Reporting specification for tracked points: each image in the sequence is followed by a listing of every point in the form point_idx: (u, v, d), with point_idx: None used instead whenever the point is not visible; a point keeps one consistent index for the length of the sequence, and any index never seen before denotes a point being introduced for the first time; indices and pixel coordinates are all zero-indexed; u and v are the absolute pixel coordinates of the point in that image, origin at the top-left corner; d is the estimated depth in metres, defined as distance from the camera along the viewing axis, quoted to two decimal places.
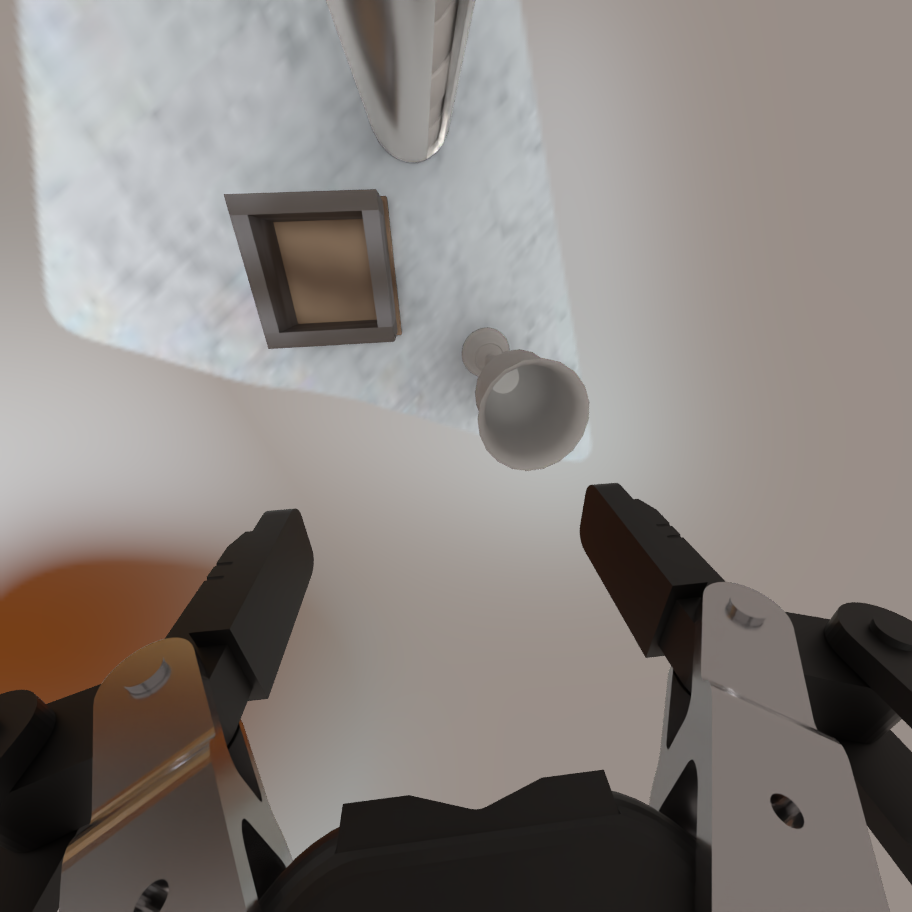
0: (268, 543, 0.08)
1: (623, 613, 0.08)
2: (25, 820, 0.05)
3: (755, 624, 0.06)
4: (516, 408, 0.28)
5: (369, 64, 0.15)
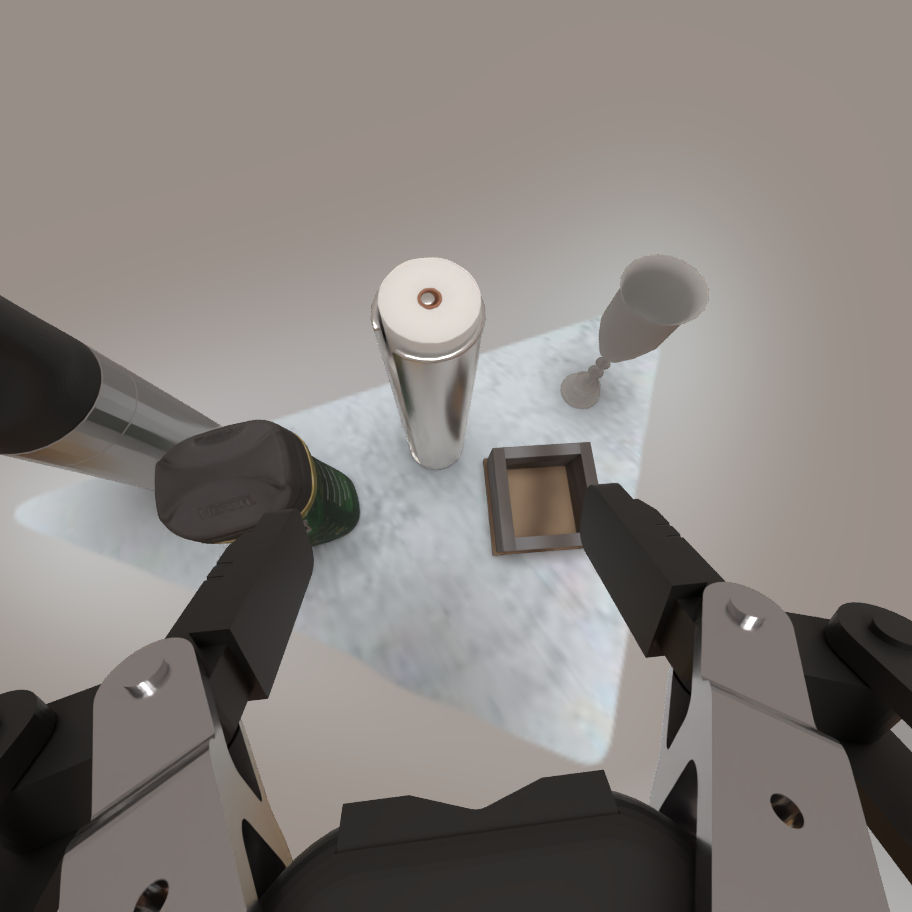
0: (268, 543, 0.08)
1: (623, 613, 0.08)
2: (25, 820, 0.05)
3: (755, 624, 0.06)
4: None
5: (469, 402, 0.28)
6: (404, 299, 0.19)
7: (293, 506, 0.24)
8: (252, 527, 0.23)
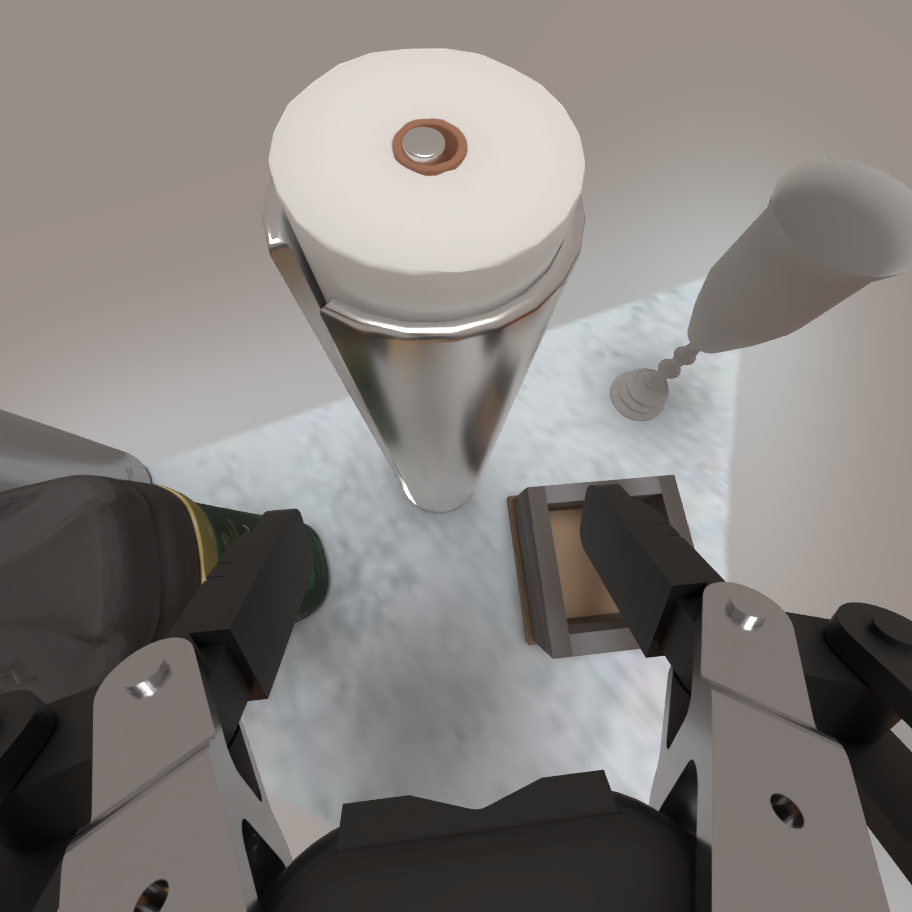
0: (268, 543, 0.08)
1: (623, 613, 0.08)
2: (25, 820, 0.05)
3: (755, 624, 0.06)
4: None
5: (502, 426, 0.15)
6: (352, 149, 0.06)
7: None
8: None
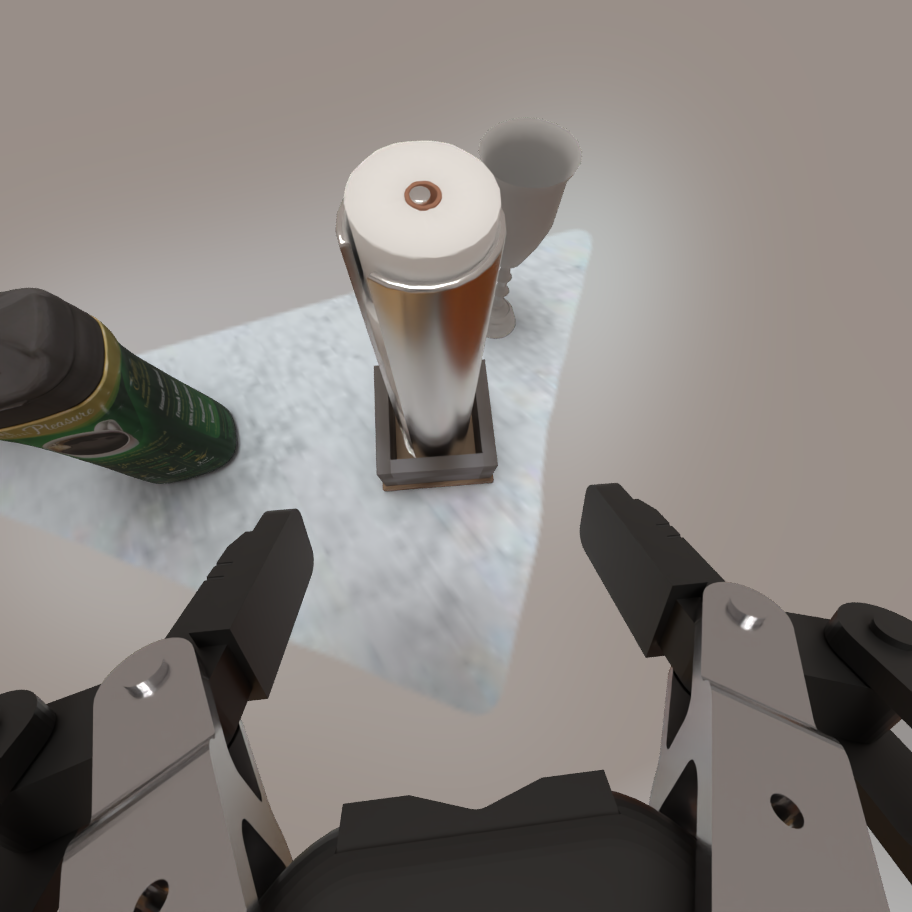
0: (268, 543, 0.08)
1: (623, 613, 0.08)
2: (25, 820, 0.05)
3: (755, 624, 0.06)
4: None
5: (477, 373, 0.21)
6: (384, 196, 0.12)
7: (61, 385, 0.20)
8: (1, 405, 0.19)
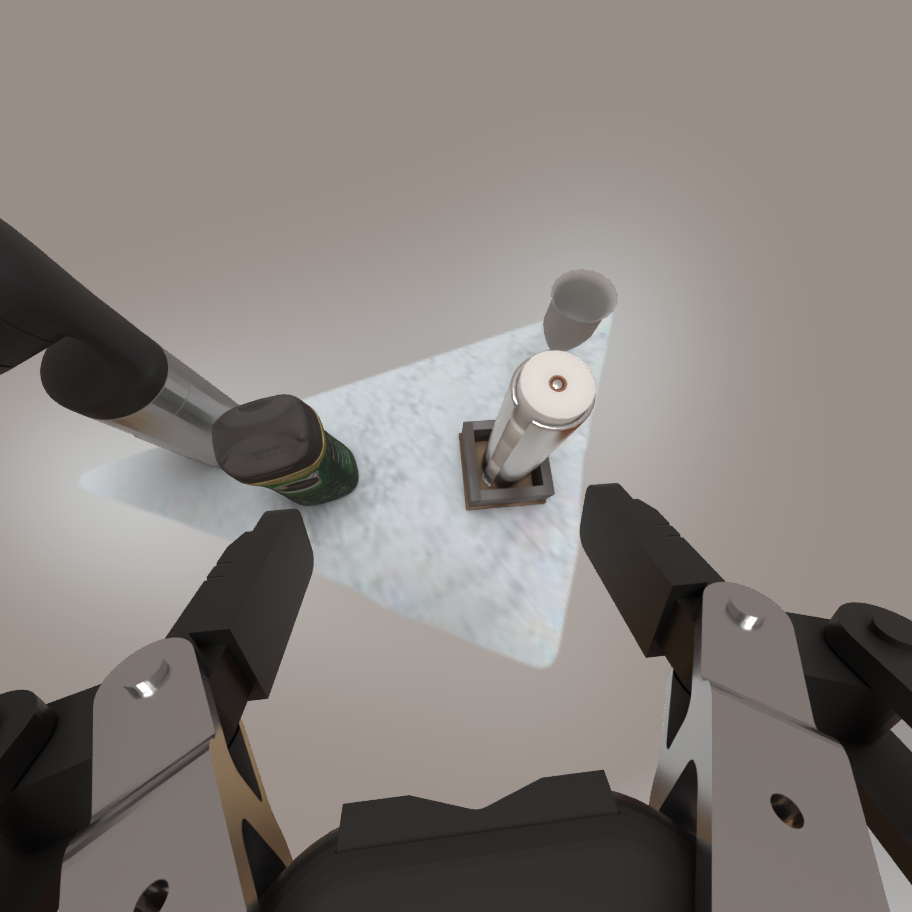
0: (268, 543, 0.08)
1: (623, 613, 0.08)
2: (25, 820, 0.05)
3: (755, 624, 0.06)
4: None
5: None
6: (539, 384, 0.26)
7: (309, 455, 0.33)
8: (281, 469, 0.32)
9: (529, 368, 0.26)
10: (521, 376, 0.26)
